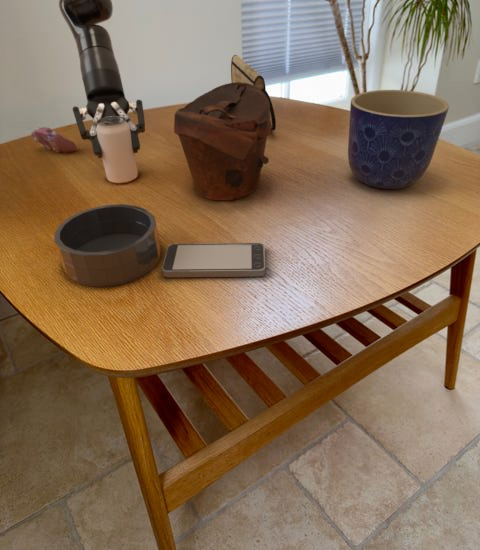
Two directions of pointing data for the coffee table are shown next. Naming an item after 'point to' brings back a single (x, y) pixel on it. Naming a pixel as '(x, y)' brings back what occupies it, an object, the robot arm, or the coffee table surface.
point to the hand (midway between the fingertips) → (118, 153)
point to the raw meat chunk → (52, 140)
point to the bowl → (108, 245)
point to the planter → (393, 136)
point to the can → (117, 149)
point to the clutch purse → (250, 80)
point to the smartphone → (214, 260)
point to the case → (225, 139)
